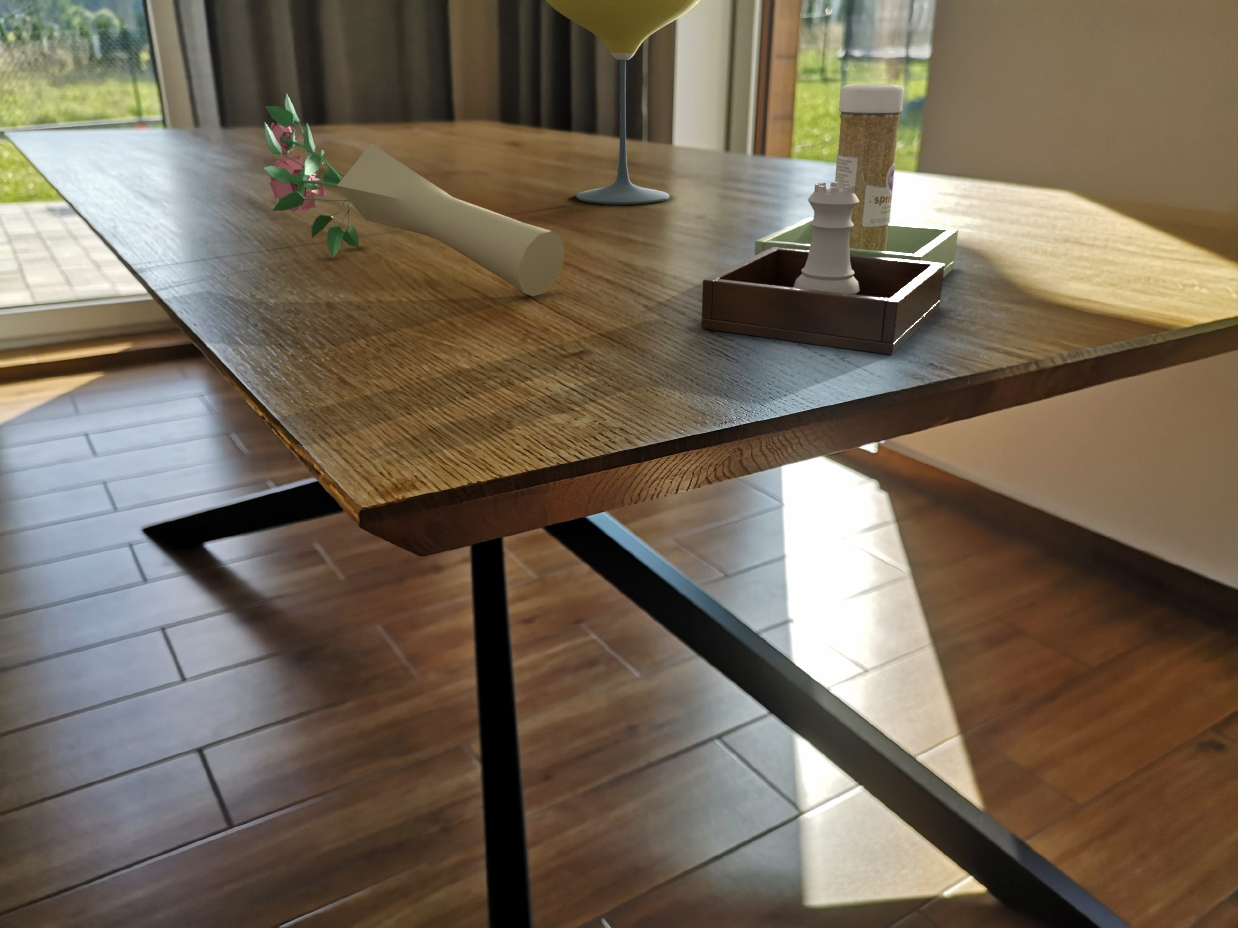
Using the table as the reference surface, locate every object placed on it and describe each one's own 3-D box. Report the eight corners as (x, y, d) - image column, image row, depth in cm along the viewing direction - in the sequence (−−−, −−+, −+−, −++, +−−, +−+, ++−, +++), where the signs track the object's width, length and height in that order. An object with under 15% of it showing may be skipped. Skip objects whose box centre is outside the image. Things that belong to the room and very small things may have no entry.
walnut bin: (939, 309, 71) (945, 263, 70) (892, 355, 61) (897, 302, 60) (770, 290, 76) (772, 246, 75) (701, 328, 66) (702, 279, 65)
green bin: (953, 269, 83) (958, 229, 82) (915, 301, 73) (921, 256, 72) (806, 254, 89) (809, 217, 87) (752, 283, 79) (755, 240, 77)
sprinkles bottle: (888, 274, 78) (907, 86, 73) (827, 272, 79) (842, 85, 74) (883, 262, 82) (901, 83, 77) (825, 260, 83) (839, 82, 78)
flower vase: (494, 399, 76) (218, 241, 93) (601, 321, 83) (325, 186, 99) (475, 263, 68) (175, 116, 84) (596, 189, 75) (296, 66, 91)
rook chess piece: (864, 303, 70) (875, 182, 66) (852, 319, 66) (864, 191, 63) (798, 297, 71) (807, 178, 68) (784, 313, 67) (792, 187, 64)
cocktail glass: (536, 188, 126) (530, -38, 116) (680, 185, 129) (685, -36, 119) (555, 212, 110) (549, -49, 100) (718, 207, 113) (728, -47, 103)
